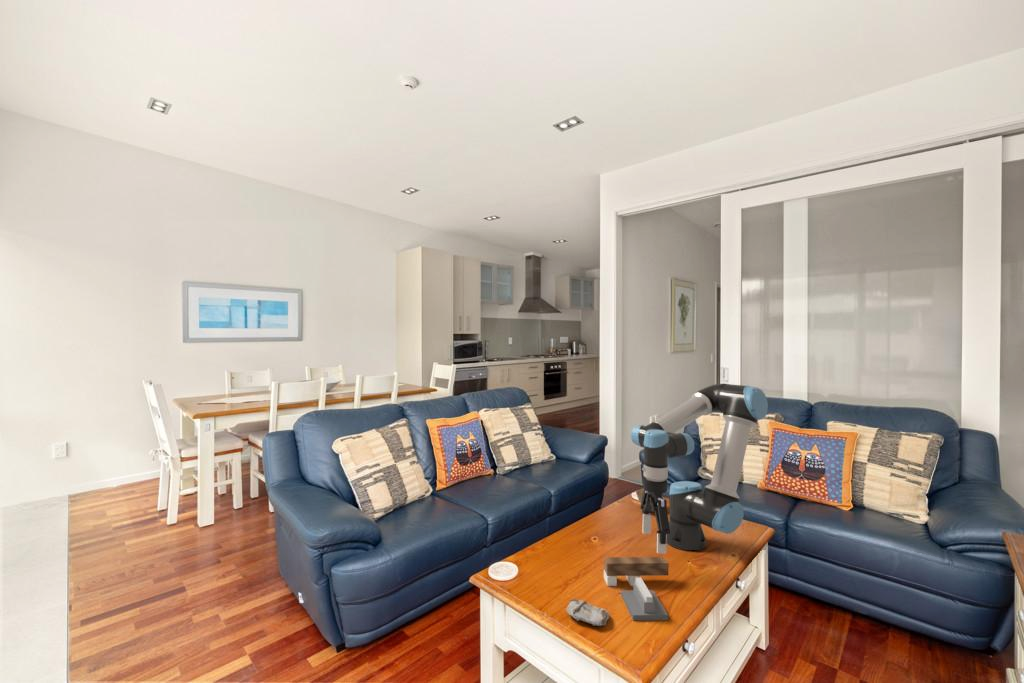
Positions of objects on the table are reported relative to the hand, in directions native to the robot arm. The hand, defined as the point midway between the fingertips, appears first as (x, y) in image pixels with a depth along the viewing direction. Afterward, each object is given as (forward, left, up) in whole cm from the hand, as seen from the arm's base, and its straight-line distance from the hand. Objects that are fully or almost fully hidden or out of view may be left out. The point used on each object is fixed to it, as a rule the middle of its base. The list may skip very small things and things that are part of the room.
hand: (653, 542), depth 143 cm
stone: (+25, +18, -13) cm, 34 cm away
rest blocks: (+10, 0, -13) cm, 16 cm away
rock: (-19, -58, -13) cm, 63 cm away
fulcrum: (+8, +13, -13) cm, 20 cm away
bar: (+6, 0, -10) cm, 11 cm away
